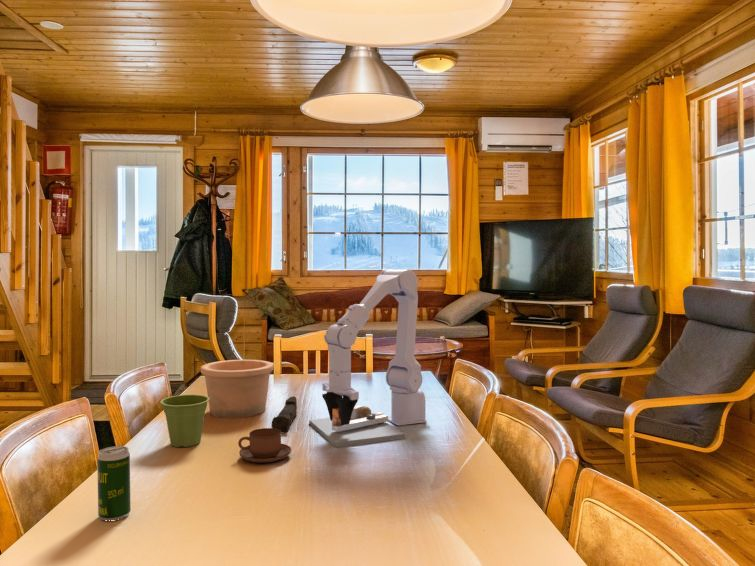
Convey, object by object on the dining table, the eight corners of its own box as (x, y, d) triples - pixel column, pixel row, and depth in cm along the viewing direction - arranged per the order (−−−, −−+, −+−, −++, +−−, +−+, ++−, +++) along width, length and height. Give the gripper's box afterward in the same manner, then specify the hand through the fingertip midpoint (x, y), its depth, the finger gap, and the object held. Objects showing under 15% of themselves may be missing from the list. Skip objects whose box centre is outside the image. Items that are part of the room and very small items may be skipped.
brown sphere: (368, 417, 171) (368, 404, 171) (373, 420, 168) (373, 407, 168) (356, 418, 170) (356, 405, 169) (361, 421, 166) (361, 408, 166)
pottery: (221, 425, 167) (221, 374, 167) (189, 410, 184) (188, 364, 183) (287, 412, 182) (286, 365, 181) (251, 399, 198) (251, 357, 198)
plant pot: (150, 447, 146) (149, 402, 146) (181, 434, 157) (181, 393, 157) (190, 453, 142) (189, 406, 142) (219, 439, 153) (219, 396, 153)
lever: (379, 418, 168) (379, 397, 168) (389, 421, 164) (389, 400, 164) (326, 429, 157) (326, 406, 157) (336, 433, 153) (336, 410, 153)
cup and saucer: (246, 470, 131) (246, 442, 131) (233, 454, 142) (233, 429, 141) (298, 462, 136) (298, 435, 136) (281, 447, 147) (281, 423, 147)
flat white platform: (370, 417, 175) (370, 402, 175) (404, 438, 154) (404, 421, 154) (309, 424, 168) (309, 408, 168) (335, 447, 147) (335, 429, 147)
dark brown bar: (288, 434, 159) (288, 413, 159) (271, 433, 159) (271, 413, 159) (304, 413, 182) (305, 395, 182) (289, 412, 182) (289, 394, 182)
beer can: (121, 507, 111) (121, 443, 110) (136, 515, 107) (135, 449, 107) (92, 516, 106) (91, 450, 106) (106, 525, 103) (105, 457, 103)
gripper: (312, 368, 158) (312, 418, 158) (342, 376, 146) (342, 431, 146) (335, 365, 162) (334, 414, 162) (365, 373, 150) (365, 426, 151)
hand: (339, 422), depth 155 cm, fingers open, 5 cm apart
